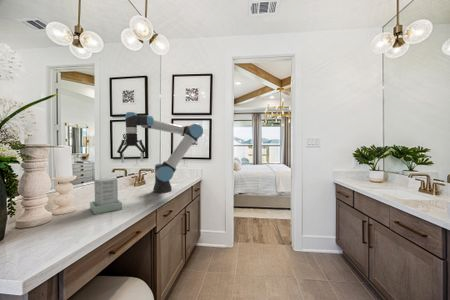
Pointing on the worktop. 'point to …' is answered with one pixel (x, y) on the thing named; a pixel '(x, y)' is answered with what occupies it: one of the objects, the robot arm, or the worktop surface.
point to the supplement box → (106, 191)
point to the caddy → (105, 207)
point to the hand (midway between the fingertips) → (132, 161)
